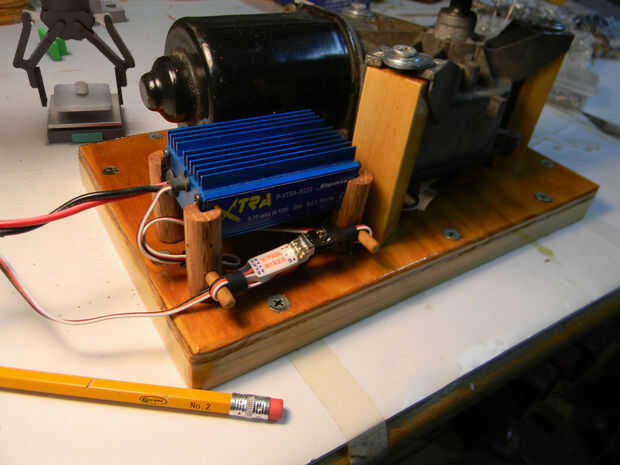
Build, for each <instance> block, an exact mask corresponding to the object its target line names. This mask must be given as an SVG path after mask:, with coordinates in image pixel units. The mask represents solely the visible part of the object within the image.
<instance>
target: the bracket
mask: <svg viewBox="0 0 620 465" xmlns="http://www.w3.org/2000/svg"><path fill="white" fill-rule="evenodd" d="M90 6H91V10H92V12H93V13H94V14H104V12H105V11H108V12H110V14H111V17H112V22H113V24H114V23H115V24H116V23H124V22H127V19H126V18H127V17H126V10H125V8H123V7H122V6H118V7H117V3H115V2H113V1H112V0H90ZM98 25H100V23H99V22H95V24H94V26H98ZM100 26H101V25H100Z"/></svg>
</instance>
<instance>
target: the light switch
mask: <svg viewBox="0 0 620 465" xmlns="http://www.w3.org/2000/svg"><path fill="white" fill-rule="evenodd" d="M110 93H111V88H110V85H109V83H105V82H97V83H96V82H95V83H94V82H93V83H92V82H90V83H89V82H88V83H87V82H86V81H83V80H78V81H75V82H74V83H61V84H59V83H57V84H55V85H54V86H53V95H54V109H55V111H57V112H65V111H92V110H110V109H112V108H113V106H112V100H111V94H110Z"/></svg>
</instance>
